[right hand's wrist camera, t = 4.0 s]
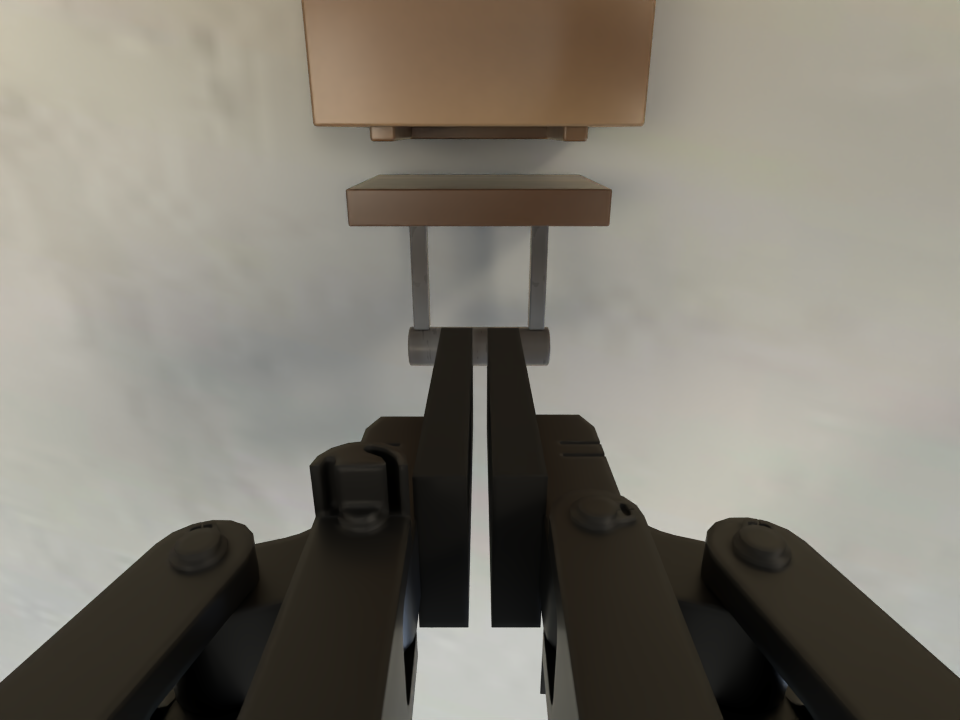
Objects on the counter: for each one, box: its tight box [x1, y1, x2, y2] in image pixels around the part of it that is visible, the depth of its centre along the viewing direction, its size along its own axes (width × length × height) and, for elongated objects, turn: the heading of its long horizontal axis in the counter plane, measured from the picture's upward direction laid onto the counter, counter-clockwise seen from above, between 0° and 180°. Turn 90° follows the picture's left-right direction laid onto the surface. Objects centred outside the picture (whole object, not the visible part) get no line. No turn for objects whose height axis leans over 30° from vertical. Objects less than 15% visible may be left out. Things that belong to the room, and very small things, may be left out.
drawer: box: [346, 126, 612, 366], centre depth 20 cm, size 24×9×7 cm, turn 0°
